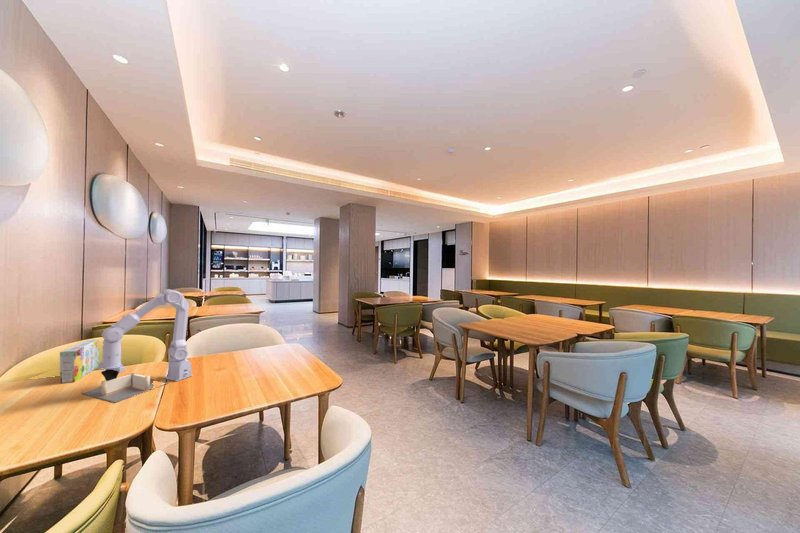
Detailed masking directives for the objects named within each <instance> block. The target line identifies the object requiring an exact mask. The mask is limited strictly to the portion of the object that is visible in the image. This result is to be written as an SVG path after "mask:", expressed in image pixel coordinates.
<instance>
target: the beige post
mask: <svg viewBox="0 0 800 533" xmlns="http://www.w3.org/2000/svg"><path fill="white" fill-rule="evenodd" d="M134 374H135V372H134V373H130V374H127V375H124V376H120V377H117V378H116V379H112V380H109V381H106V380H103V381H101V385H100V387H101V395H105V394H107V393H111V392H114V391H117V390H120V389H123V388H126V387H129V386H131V385H132V382H133V375H134Z"/></svg>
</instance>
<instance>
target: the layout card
mask: <svg viewBox="0 0 800 533" xmlns="http://www.w3.org/2000/svg"><path fill="white" fill-rule="evenodd" d="M154 380H155V379H153V378H150V389H152V388H153V386H154V385H153V384H152V383H153V381H154ZM164 382H165V385H164V386H166V385H167V384H169V382H166V381H164ZM150 389H149V391H151V390H150ZM152 390H153V389H152ZM145 391H147V392H149V391H148V390H144V389H140V388H136V387H132V385H131V386H129V387H126V388H123V389H120V390H117V391H114V392H111V393H107V394H105V395H101V386H100V387H96V388H94V389H90V390H87V391H83V392H81V395H84V396H88V397H92V398H96V399H98V400H99V399H100V400H102V401H107V402H111V403H114V404H115V403H119V402H121V400H122V401H124V399H125V400H127V399H129V397H130V398H132V396H133V397H135V396H134V395H136V396H138V395H141V394H143V392H144V393H146V392H145ZM140 393H141V394H140ZM137 394H138V395H137Z"/></svg>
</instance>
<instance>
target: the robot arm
mask: <svg viewBox="0 0 800 533" xmlns="http://www.w3.org/2000/svg"><path fill="white" fill-rule="evenodd" d="M167 304H170V305H171V306H173V307H174V308H175V315H174V317H175V318H174V324H173V335H172V340H171V342H170V346H169V347H168V349H167V356H169V358H168V364H167V365H168V366H167V369H168V370H167V372H168V373H167V375H166V376H164V377H165V378H166V379H165V380H169V381H175V382H179V381H182V380H184V379H187V378H189V377H193V376H194V374H193V373H192V362H191V361H190V360H189V359H188V355H189V350H188V348H187V347H188V346H187V345H188V344H187V341H186V339H187V338H186V337H187V327H188V319H189V310H190V304H189V302H188V301H187V300H186V298H185V296H184V294H183V293H181V292H180V291H178V290H174V289H170V288H167V289H164V290H163V291H161V293H158V294H156V295H155V296H154V297H153V298H152V299H150V300H149V301H148V302H146V303H144V304H143V306H141V307H140V308H139V309H138V310H136V311H135V312H134V313H133V312H132V313H127V314H123V315H122V316H121V319H119V320H118V321H116V322H115V323H112V324H111V325H110V326H109V327H107V328H105V329H104V330H103V331H102V332H101V337H102V339H103V340H102V344H103V345H102V360H101V361H102V362H99V363H98V368H97V369H98V370H99V371H101V370H102V371H101V372H100V373H101V374H102V375H103V377H104V379H105V381H109V380H112V379H116V378H118V375H119V374H120V373H124V372H126V366H124V365H123V364H122V339H123V337H124V334H126V333H127V332H129V331H131V329H133V328H134V327H135V326H137V325H138V324H140V322H141V318H143V317H144V316H145V315H147V314H148V313H150V312H151V311H153V310H154V309H155V308H157V307H158V306H159V307H160V306H165V305H167Z"/></svg>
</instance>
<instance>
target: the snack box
mask: <svg viewBox="0 0 800 533" xmlns="http://www.w3.org/2000/svg"><path fill="white" fill-rule="evenodd" d="M99 348H100V339H99V338H96V339H87V340H83V341H82V342H79V343H77V344H75V345H73V346H71V347H68V348H66V349H64V350H62V351H59V360H60V361H59V363H60V364H59V368H60V369H59V374H60V375H59V376H60V377H59V378H60V379H59V381H60V382H59V384H60V383H61V384H67V383H66V382H69V383H75V381H76V382H77V381H79V380H80V379H82V378H83V377H85V376H86V375H85V374H84V373H88V374H90V373H91V372H92V371H94V370H97V369H99V368H98V363H100V349H99ZM89 372H90V373H89ZM78 379H79V380H78Z"/></svg>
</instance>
